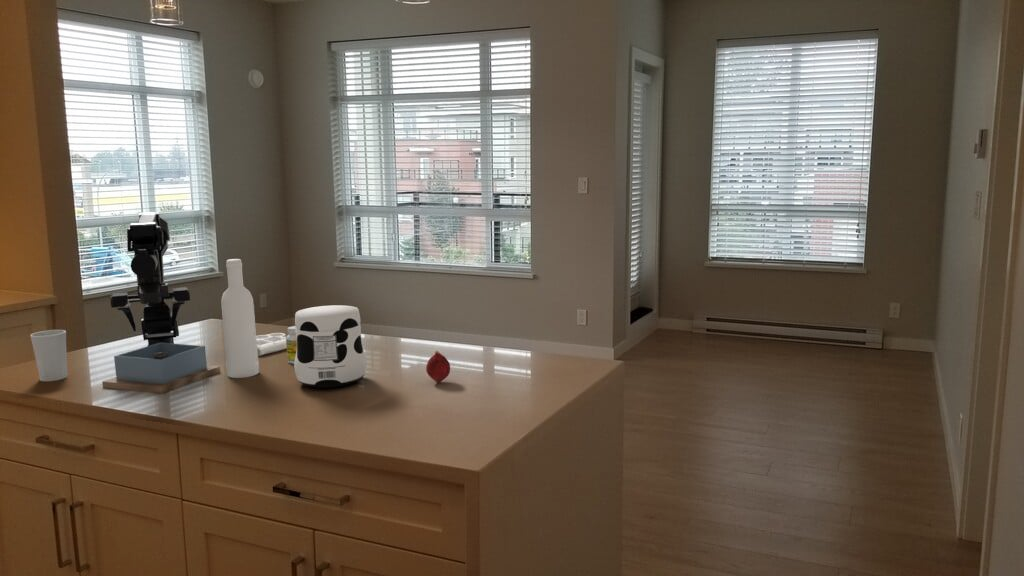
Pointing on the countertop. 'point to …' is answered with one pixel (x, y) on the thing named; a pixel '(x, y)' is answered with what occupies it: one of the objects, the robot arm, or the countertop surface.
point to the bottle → (239, 325)
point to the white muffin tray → (270, 343)
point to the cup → (50, 354)
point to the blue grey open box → (160, 363)
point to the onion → (438, 367)
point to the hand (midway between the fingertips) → (154, 329)
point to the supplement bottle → (291, 344)
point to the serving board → (160, 387)
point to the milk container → (329, 346)
